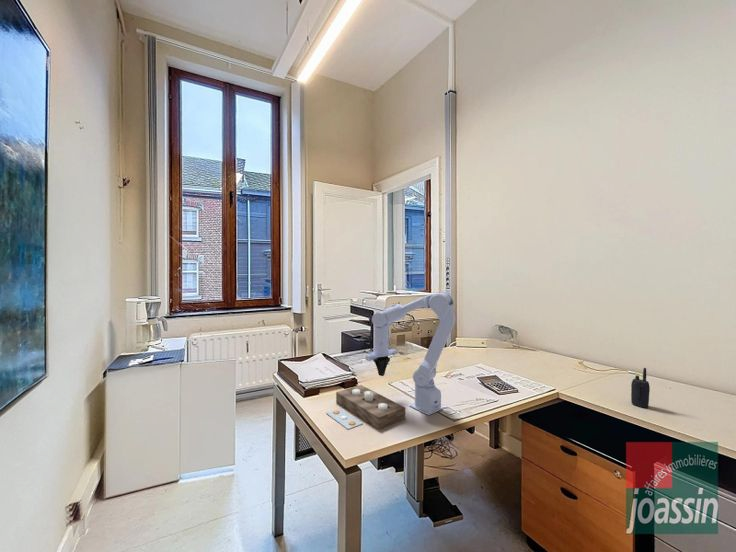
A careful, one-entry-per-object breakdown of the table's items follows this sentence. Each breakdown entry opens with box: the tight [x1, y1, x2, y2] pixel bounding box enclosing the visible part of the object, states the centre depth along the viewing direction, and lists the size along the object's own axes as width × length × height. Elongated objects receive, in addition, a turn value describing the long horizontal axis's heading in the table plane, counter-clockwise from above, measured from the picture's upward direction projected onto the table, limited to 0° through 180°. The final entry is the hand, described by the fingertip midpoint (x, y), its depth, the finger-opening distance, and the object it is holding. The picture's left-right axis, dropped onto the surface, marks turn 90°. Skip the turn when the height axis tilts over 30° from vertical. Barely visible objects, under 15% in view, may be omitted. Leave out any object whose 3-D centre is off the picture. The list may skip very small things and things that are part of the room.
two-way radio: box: [630, 367, 651, 409], centre depth 122 cm, size 6×4×15 cm
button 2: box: [378, 403, 387, 411], centre depth 112 cm, size 3×3×4 cm
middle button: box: [365, 390, 373, 402], centre depth 118 cm, size 3×3×4 cm
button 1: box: [352, 389, 360, 395], centre depth 124 cm, size 3×3×4 cm
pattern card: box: [326, 408, 364, 430], centre depth 111 cm, size 14×6×1 cm, turn 38°
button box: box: [335, 384, 406, 430], centre depth 118 cm, size 26×12×4 cm, turn 38°
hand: (381, 375), depth 128 cm, fingers closed
